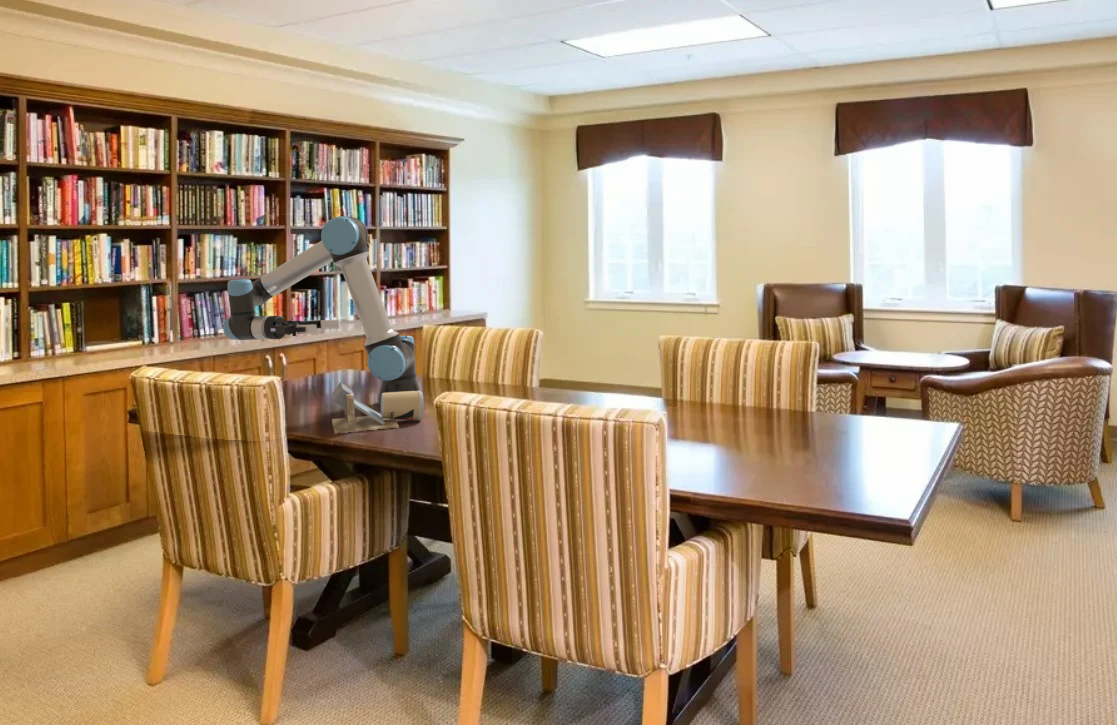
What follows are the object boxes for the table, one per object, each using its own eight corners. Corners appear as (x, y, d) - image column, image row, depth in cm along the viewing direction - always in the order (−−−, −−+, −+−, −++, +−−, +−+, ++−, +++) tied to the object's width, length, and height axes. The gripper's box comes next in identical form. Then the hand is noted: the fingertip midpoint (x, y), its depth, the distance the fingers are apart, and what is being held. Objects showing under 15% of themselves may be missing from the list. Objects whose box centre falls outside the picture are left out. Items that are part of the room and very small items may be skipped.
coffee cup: (383, 417, 271) (423, 416, 274) (382, 386, 274) (423, 386, 277) (380, 424, 280) (419, 424, 283) (380, 394, 282) (419, 394, 286)
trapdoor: (375, 421, 284) (383, 409, 285) (379, 430, 271) (388, 418, 271) (332, 393, 280) (340, 381, 280) (334, 401, 266) (342, 388, 267)
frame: (392, 416, 288) (390, 382, 287) (398, 428, 270) (396, 391, 269) (332, 421, 283) (329, 386, 282) (334, 433, 265) (332, 396, 264)
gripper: (293, 334, 304) (349, 333, 298) (246, 344, 281) (306, 343, 274) (291, 312, 303) (347, 310, 297) (244, 320, 279) (304, 318, 273)
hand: (328, 326), depth 285 cm, fingers open, 13 cm apart
